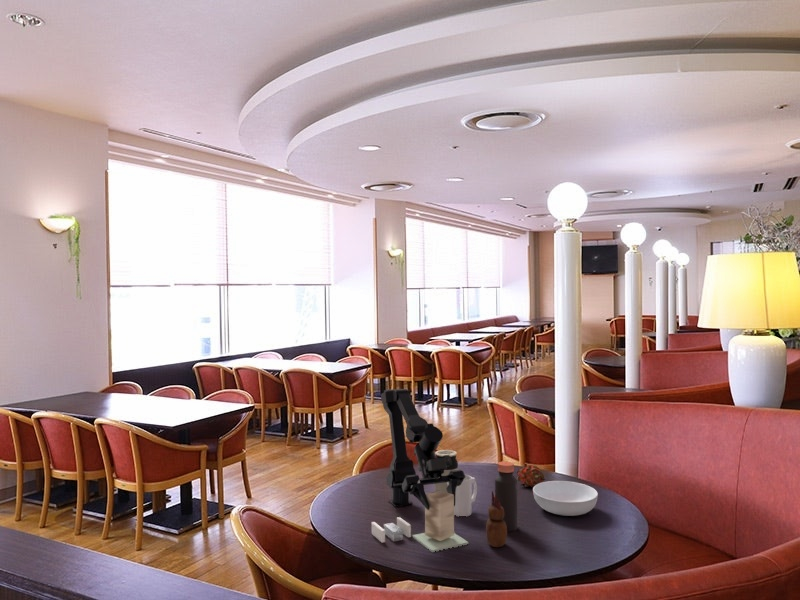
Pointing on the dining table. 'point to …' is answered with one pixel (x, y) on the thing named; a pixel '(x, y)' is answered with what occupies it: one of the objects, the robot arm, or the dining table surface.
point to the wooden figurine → (496, 524)
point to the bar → (393, 532)
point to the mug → (465, 496)
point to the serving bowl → (565, 497)
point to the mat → (439, 542)
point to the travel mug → (446, 471)
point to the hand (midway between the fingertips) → (441, 507)
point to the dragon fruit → (530, 475)
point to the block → (439, 515)
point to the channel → (380, 532)
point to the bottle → (507, 493)
